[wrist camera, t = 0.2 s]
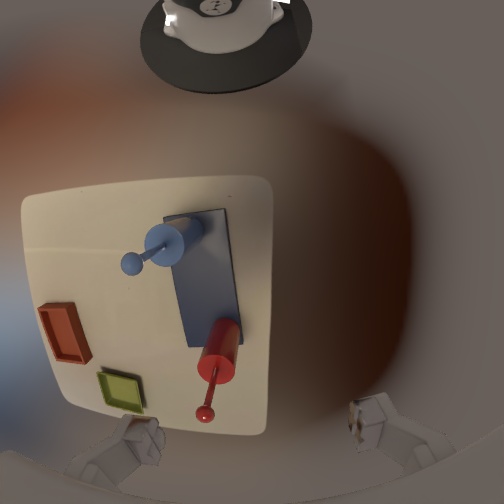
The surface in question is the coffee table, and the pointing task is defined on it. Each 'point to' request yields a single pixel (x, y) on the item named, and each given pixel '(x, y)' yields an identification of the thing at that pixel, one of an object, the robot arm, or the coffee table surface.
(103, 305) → the coffee table surface
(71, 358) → the red tray
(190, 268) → the navy board
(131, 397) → the green tray
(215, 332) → the red ball-topped plunger
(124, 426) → the robot arm
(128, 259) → the blue cylinder with rod
